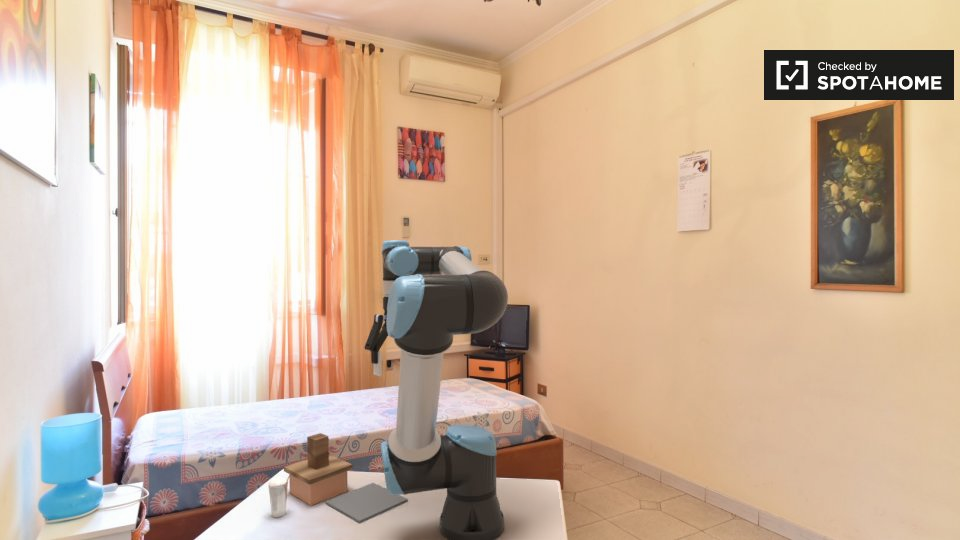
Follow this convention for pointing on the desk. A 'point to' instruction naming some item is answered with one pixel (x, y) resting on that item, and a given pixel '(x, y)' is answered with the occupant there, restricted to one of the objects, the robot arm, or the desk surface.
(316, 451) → the lid
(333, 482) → the open peach box
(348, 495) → the mat
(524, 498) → the desk surface
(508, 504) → the desk surface
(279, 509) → the milkshake
